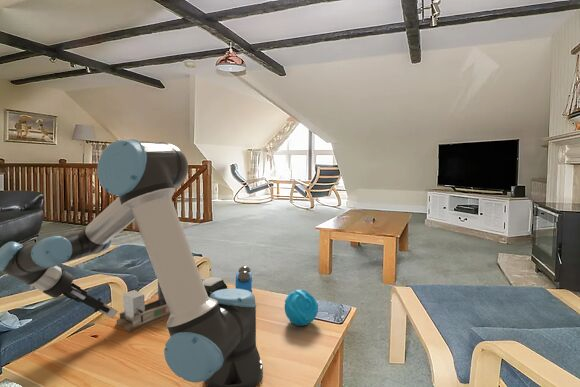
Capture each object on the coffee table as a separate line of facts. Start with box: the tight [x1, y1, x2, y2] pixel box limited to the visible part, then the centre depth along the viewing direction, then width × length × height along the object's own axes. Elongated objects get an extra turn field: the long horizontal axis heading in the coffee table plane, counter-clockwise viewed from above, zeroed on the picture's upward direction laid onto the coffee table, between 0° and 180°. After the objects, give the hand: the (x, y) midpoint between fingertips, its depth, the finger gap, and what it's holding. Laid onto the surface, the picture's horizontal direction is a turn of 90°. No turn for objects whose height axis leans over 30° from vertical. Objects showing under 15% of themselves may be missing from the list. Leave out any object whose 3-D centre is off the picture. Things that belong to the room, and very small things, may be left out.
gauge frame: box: [116, 281, 170, 333], centre depth 120 cm, size 10×20×12 cm, turn 142°
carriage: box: [122, 289, 146, 323], centre depth 115 cm, size 9×4×9 cm, turn 52°
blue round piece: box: [284, 289, 319, 327], centre depth 116 cm, size 12×11×12 cm
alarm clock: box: [235, 265, 253, 293], centre depth 130 cm, size 13×6×15 cm, turn 6°
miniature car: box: [202, 276, 228, 297], centre depth 136 cm, size 9×18×8 cm, turn 155°
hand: (114, 314), depth 110 cm, fingers closed
